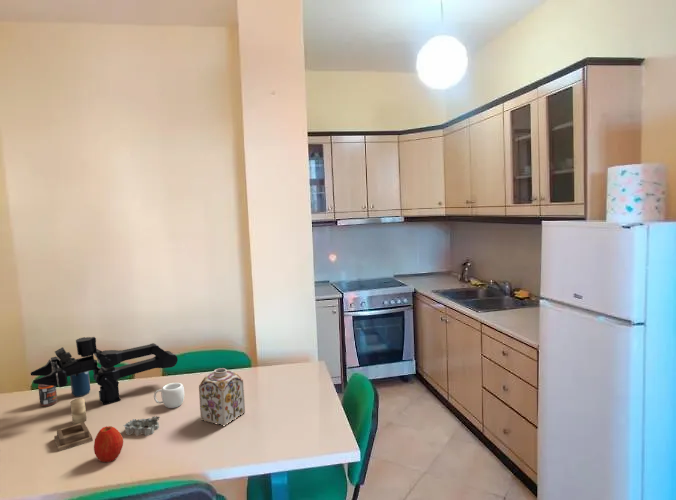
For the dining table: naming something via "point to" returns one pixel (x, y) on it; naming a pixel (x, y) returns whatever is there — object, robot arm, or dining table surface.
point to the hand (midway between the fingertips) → (31, 377)
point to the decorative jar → (221, 396)
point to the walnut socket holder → (72, 436)
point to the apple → (108, 444)
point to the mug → (171, 395)
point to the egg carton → (138, 425)
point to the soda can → (80, 384)
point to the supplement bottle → (47, 395)
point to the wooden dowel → (78, 410)
